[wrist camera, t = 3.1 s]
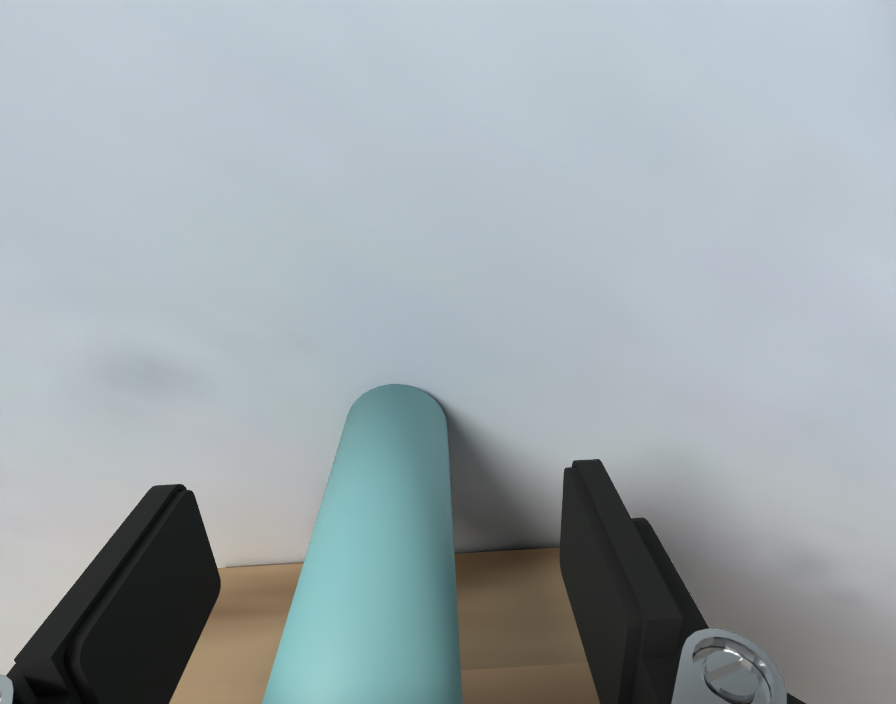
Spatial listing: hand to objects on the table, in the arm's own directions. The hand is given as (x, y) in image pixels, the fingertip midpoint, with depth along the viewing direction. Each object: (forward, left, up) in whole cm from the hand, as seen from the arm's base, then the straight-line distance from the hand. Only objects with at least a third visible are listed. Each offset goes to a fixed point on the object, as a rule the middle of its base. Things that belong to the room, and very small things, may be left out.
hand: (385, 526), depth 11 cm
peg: (0, 0, -4) cm, 4 cm away
